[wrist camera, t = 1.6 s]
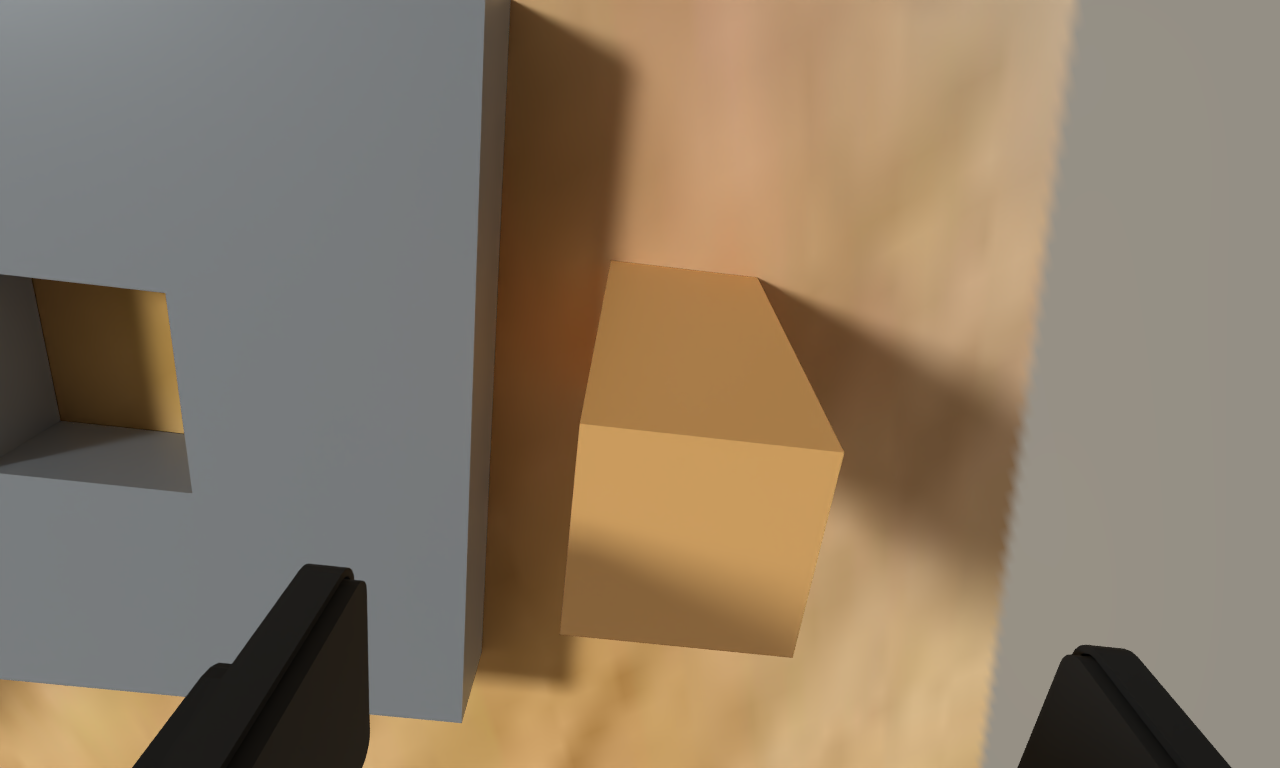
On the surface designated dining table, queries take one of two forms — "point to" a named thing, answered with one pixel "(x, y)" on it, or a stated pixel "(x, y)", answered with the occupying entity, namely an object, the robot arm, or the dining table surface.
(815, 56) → the dining table surface
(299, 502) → the socket plate
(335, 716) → the robot arm
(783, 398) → the plug
